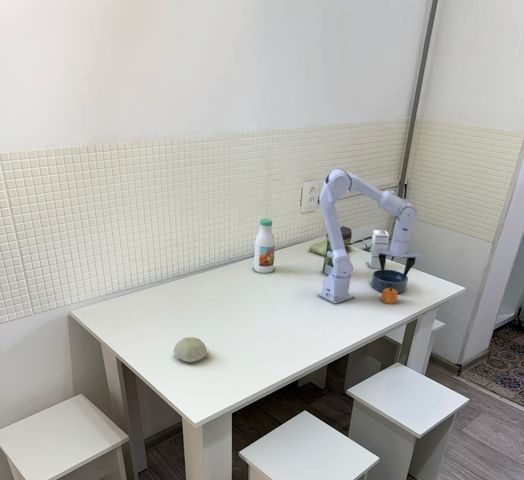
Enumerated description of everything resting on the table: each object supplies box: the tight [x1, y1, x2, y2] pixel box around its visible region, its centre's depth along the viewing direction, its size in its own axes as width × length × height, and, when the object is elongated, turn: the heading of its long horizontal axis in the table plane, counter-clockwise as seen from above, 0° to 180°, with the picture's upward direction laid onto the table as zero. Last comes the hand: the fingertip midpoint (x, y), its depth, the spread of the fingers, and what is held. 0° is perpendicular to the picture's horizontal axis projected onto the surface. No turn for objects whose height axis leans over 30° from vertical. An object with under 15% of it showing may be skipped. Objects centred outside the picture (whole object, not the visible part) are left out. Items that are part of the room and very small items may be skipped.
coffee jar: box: [322, 225, 353, 276], centre depth 192 cm, size 10×8×19 cm
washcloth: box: [308, 238, 353, 257], centre depth 217 cm, size 13×18×3 cm
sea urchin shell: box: [173, 336, 207, 363], centre depth 138 cm, size 9×8×8 cm
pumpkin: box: [380, 287, 399, 305], centre depth 175 cm, size 6×6×5 cm
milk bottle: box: [253, 218, 276, 274], centre depth 191 cm, size 8×8×20 cm
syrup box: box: [368, 229, 390, 269], centre depth 202 cm, size 6×6×14 cm
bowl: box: [370, 268, 409, 294], centre depth 186 cm, size 13×13×4 cm
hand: (392, 276), depth 173 cm, fingers open, 7 cm apart
